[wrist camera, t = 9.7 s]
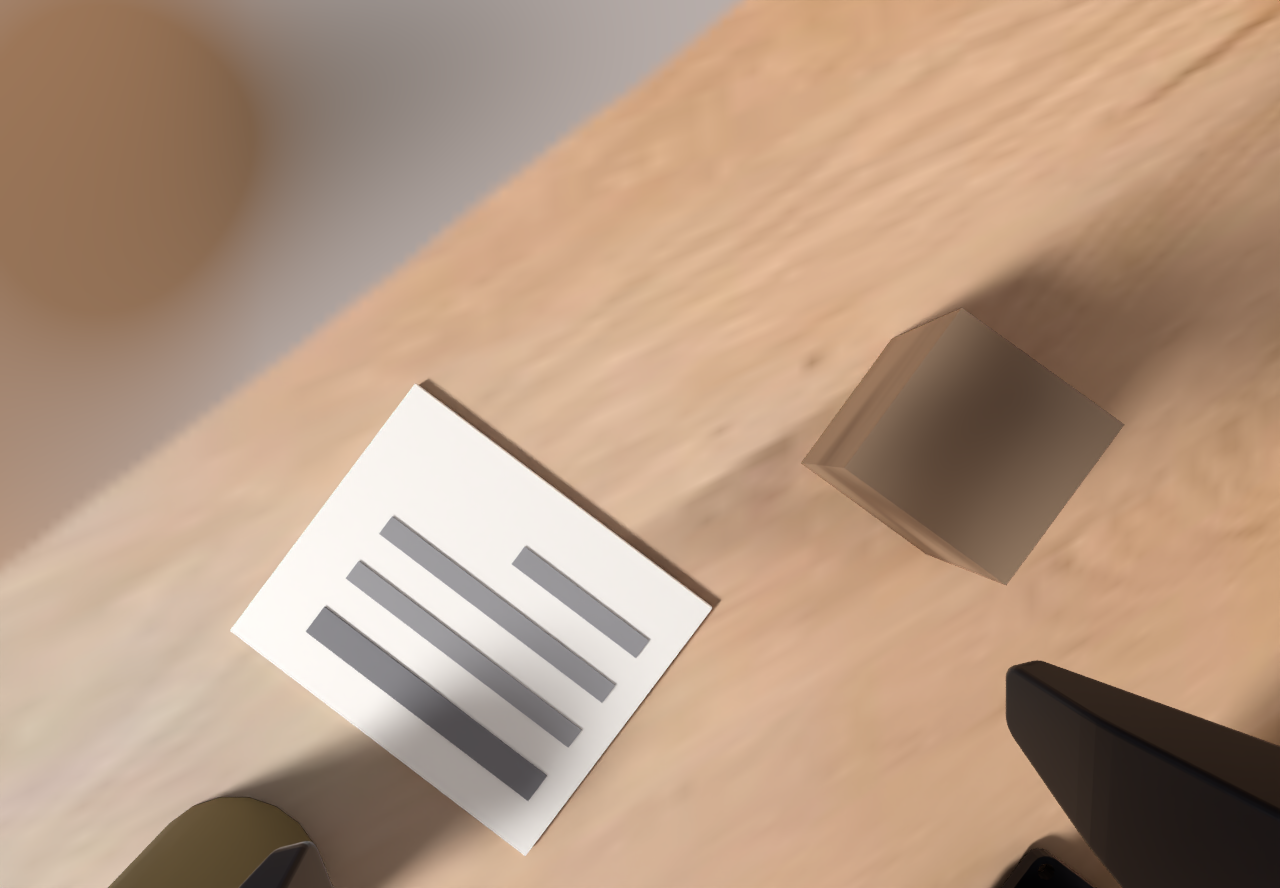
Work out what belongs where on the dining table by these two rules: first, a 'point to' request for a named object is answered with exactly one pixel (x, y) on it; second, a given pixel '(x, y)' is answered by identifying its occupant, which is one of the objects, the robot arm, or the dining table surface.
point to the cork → (212, 846)
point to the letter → (471, 619)
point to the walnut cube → (963, 444)
